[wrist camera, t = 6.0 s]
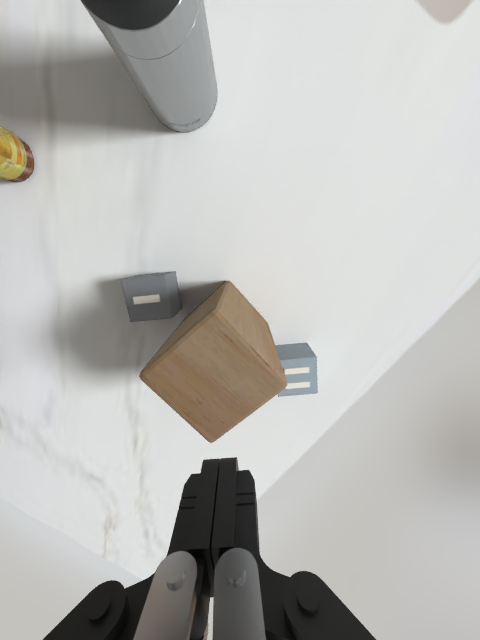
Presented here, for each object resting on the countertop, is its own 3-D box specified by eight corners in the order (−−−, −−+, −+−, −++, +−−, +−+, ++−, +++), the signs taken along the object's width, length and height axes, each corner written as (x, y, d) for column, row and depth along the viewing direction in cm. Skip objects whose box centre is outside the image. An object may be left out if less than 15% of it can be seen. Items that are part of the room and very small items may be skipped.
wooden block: (224, 361, 45) (210, 446, 25) (183, 319, 43) (135, 377, 24) (269, 324, 43) (290, 386, 24) (228, 278, 41) (215, 305, 22)
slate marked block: (271, 345, 44) (275, 361, 38) (306, 342, 44) (317, 357, 38) (273, 377, 46) (278, 397, 39) (307, 374, 45) (318, 394, 39)
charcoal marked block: (138, 275, 41) (120, 280, 35) (175, 271, 41) (163, 275, 35) (145, 311, 43) (129, 322, 37) (181, 308, 42) (171, 318, 36)
